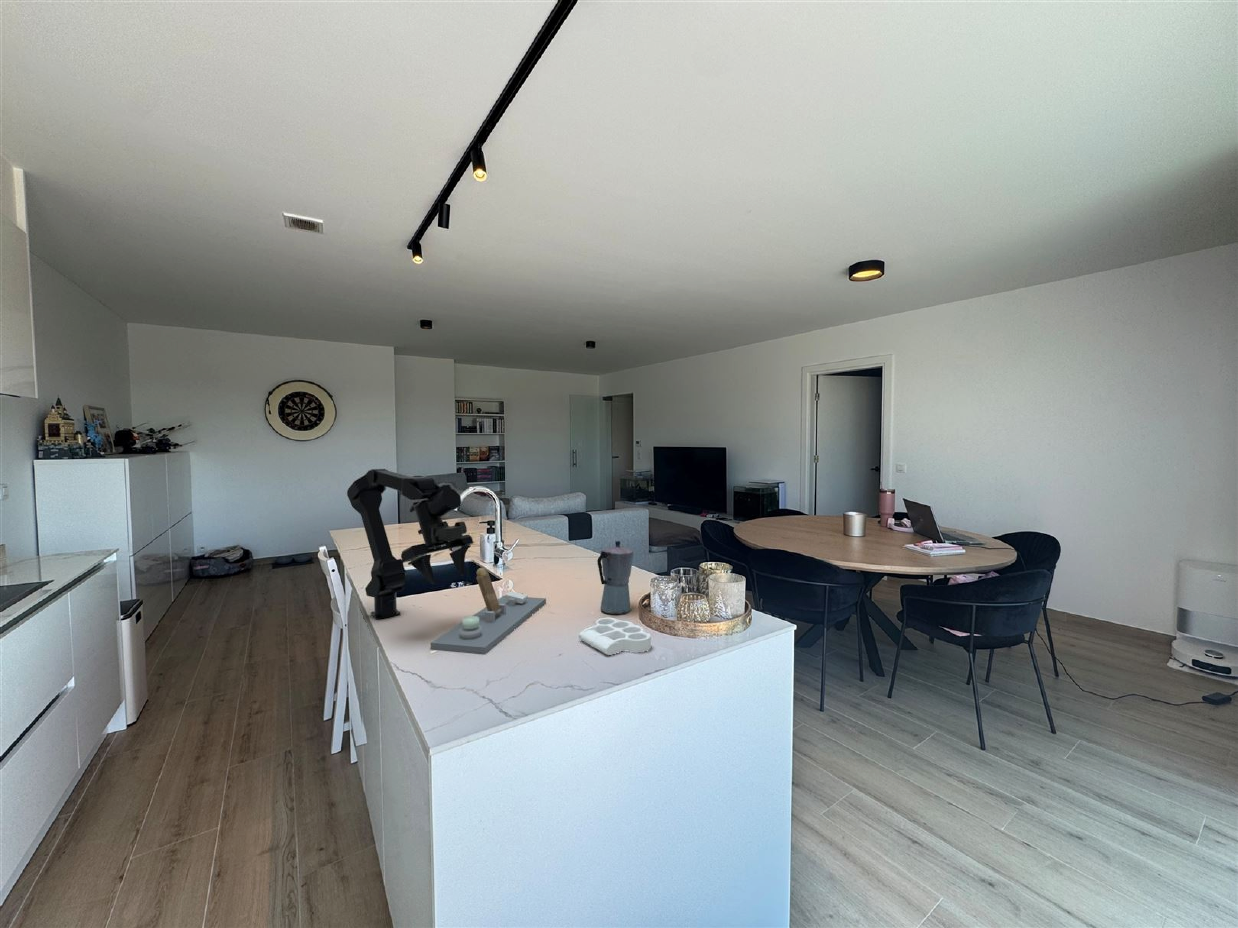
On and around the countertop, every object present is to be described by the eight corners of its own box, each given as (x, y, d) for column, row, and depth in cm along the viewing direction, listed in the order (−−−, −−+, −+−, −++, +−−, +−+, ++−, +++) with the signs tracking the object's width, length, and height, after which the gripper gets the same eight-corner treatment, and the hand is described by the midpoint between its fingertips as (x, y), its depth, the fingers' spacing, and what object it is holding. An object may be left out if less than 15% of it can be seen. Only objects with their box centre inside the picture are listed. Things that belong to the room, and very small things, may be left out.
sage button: (458, 628, 119) (458, 620, 119) (467, 622, 123) (467, 615, 123) (474, 629, 118) (473, 622, 118) (482, 623, 122) (482, 616, 122)
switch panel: (430, 648, 116) (430, 631, 116) (503, 600, 153) (503, 587, 153) (485, 653, 113) (484, 636, 113) (546, 603, 150) (545, 589, 150)
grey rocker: (504, 599, 144) (505, 594, 144) (509, 595, 148) (510, 591, 148) (522, 603, 143) (522, 598, 143) (527, 599, 147) (527, 595, 147)
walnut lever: (488, 620, 131) (471, 571, 132) (496, 614, 135) (479, 567, 136) (496, 617, 130) (480, 568, 131) (504, 612, 135) (488, 564, 135)
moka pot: (643, 606, 146) (642, 539, 146) (614, 621, 133) (614, 548, 133) (616, 600, 152) (615, 536, 151) (586, 615, 139) (585, 544, 138)
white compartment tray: (571, 639, 123) (618, 626, 131) (614, 663, 108) (664, 647, 117) (571, 625, 122) (618, 613, 131) (614, 648, 108) (664, 633, 117)
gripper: (418, 516, 118) (437, 579, 115) (477, 507, 134) (495, 562, 131) (392, 531, 123) (409, 591, 120) (452, 521, 139) (468, 574, 136)
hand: (448, 579), depth 127 cm, fingers open, 9 cm apart
